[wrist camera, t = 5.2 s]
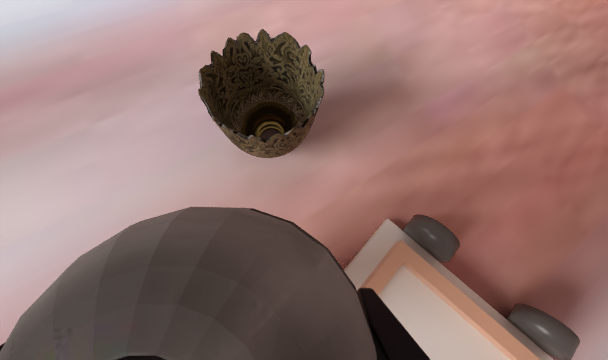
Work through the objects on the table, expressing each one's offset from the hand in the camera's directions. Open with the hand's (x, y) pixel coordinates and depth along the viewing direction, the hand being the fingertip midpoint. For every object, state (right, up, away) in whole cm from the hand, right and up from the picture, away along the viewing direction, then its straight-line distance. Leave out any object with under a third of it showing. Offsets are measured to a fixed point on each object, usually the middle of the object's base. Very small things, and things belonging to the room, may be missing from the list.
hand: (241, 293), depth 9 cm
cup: (-1, +7, +16) cm, 18 cm away
